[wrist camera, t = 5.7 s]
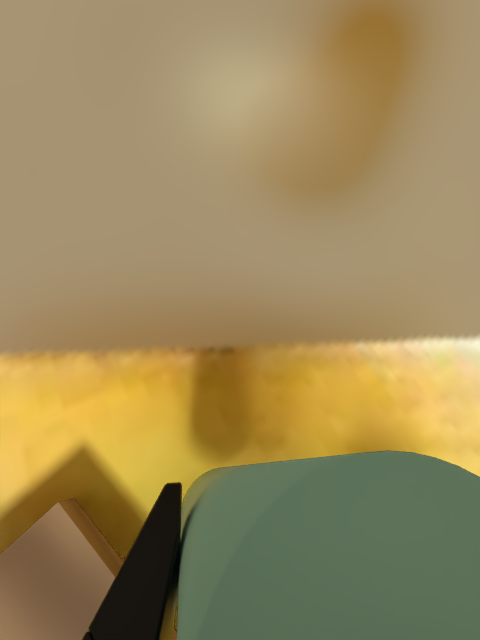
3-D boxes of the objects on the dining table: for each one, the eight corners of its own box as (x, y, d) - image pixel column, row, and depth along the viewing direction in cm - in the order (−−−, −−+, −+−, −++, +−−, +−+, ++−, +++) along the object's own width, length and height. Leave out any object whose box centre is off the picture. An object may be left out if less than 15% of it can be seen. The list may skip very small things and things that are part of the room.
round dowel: (223, 591, 14) (653, 1821, 1) (161, 517, 14) (38, 801, 2) (282, 512, 15) (725, 690, 3) (224, 449, 16) (371, 371, 4)
